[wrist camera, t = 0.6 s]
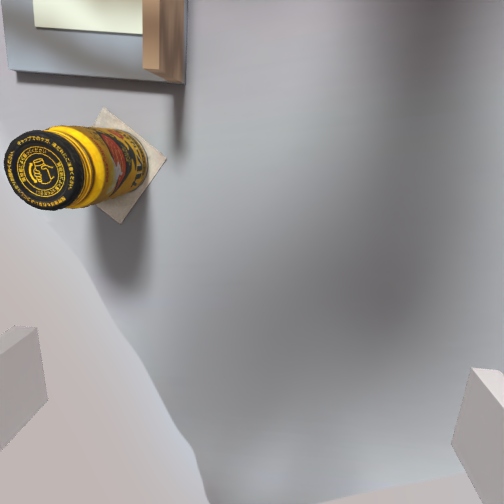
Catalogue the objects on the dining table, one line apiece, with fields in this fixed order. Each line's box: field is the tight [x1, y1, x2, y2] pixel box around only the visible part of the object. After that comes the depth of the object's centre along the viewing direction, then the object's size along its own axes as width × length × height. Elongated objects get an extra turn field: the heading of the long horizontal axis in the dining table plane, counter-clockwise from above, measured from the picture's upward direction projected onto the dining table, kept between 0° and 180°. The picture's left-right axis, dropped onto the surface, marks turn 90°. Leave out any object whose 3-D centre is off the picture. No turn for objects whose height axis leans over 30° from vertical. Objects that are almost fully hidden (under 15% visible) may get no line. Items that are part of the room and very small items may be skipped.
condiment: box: [4, 107, 166, 224], centre depth 30 cm, size 7×8×12 cm
